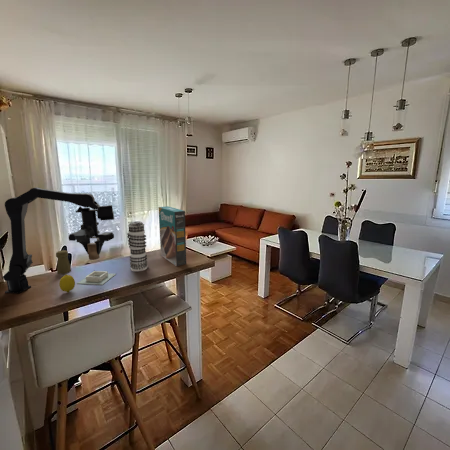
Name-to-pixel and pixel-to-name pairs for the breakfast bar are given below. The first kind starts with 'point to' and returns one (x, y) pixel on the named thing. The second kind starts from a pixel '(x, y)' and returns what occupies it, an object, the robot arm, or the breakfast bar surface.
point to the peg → (92, 251)
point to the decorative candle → (137, 246)
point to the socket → (97, 278)
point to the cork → (63, 262)
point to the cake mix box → (172, 235)
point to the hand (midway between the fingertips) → (93, 254)
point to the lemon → (67, 283)
